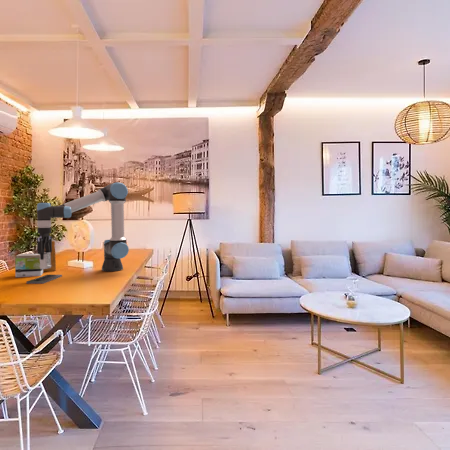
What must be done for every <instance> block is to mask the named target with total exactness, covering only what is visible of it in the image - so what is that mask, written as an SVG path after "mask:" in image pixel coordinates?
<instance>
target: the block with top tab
mask: <svg viewBox="0 0 450 450" xmlns="http://www.w3.org/2000/svg"><path fill="white" fill-rule="evenodd" d="M44 254H45V265H41V262H40V266H39V267H40V269H48V268H51V266H52V265H51V255H50V252H44Z"/></svg>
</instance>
